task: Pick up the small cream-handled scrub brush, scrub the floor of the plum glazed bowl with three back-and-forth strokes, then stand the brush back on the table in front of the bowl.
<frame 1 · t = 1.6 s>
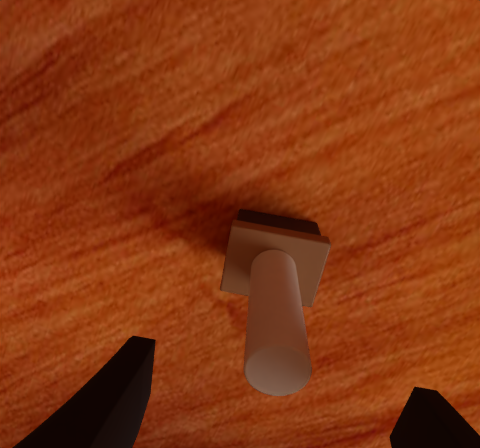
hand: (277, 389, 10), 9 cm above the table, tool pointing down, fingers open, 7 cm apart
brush: (272, 241, 19), on the table
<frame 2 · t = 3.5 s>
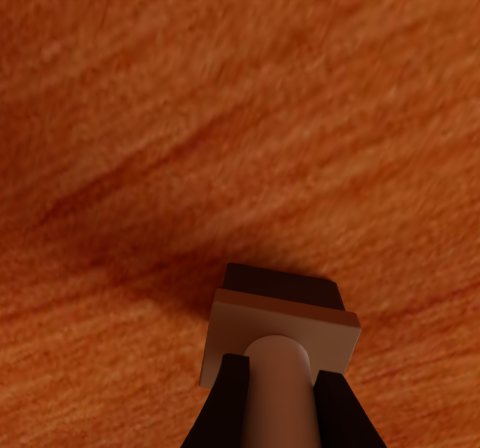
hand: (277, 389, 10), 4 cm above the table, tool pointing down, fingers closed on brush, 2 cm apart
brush: (273, 305, 13), on the table, touching gripper
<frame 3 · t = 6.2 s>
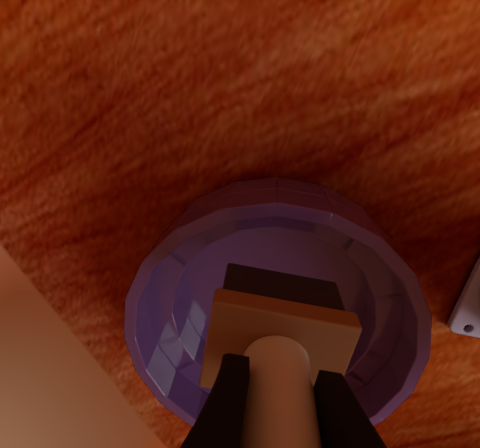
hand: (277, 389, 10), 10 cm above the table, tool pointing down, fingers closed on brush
bowl: (272, 292, 21), on the table
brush: (273, 305, 13), point 7 cm above the table, touching gripper
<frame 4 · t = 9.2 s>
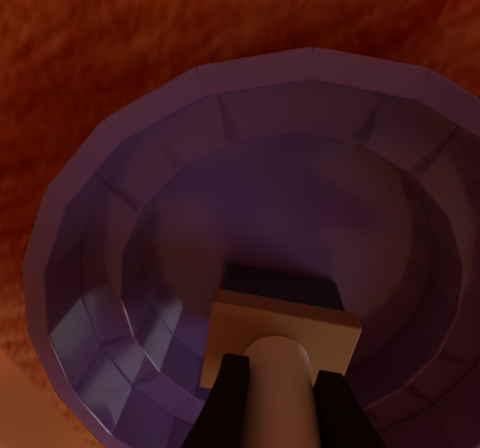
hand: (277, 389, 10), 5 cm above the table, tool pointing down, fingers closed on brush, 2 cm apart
bowl: (281, 264, 14), on the table
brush: (273, 305, 13), point 1 cm above the table, touching gripper
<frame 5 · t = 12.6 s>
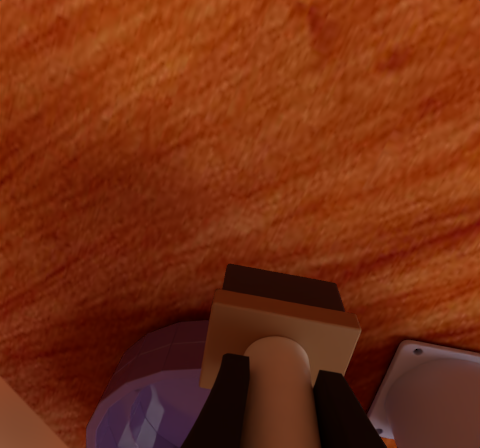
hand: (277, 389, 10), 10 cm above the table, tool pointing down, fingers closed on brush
bowl: (217, 398, 25), on the table
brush: (273, 305, 13), point 7 cm above the table, touching gripper
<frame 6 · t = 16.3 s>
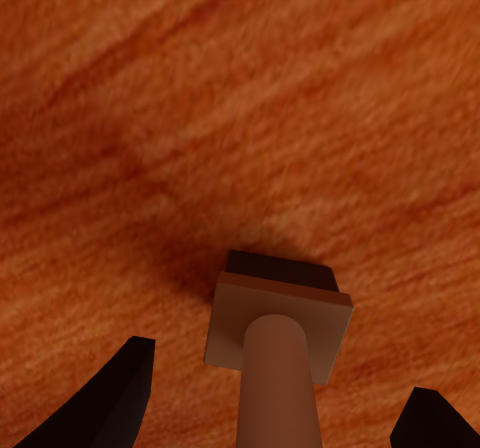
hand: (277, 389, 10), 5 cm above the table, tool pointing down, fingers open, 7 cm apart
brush: (273, 290, 14), on the table
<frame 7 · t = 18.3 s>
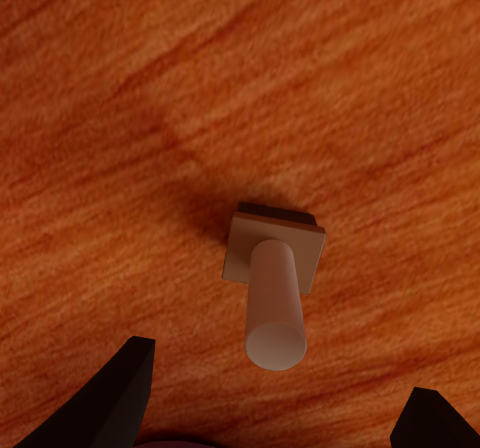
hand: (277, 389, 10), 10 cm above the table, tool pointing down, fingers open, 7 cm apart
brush: (271, 233, 19), on the table
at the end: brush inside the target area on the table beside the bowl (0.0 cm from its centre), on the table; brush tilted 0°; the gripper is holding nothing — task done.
